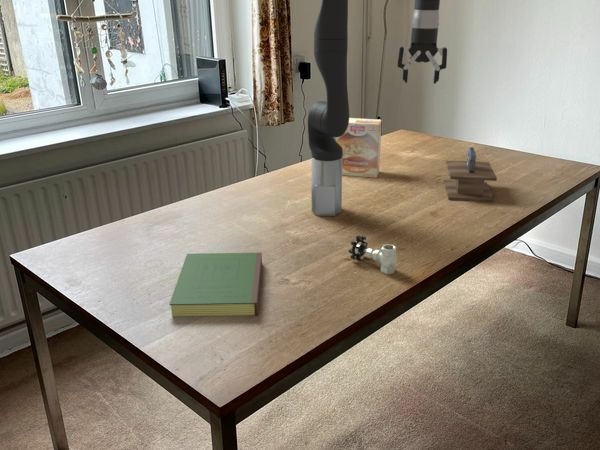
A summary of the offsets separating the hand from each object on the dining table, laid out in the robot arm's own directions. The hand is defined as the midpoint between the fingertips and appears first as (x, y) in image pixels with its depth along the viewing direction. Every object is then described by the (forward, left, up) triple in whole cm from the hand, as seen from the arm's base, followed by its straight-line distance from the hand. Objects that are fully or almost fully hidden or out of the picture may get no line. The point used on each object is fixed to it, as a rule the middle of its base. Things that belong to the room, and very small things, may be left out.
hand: (420, 82), depth 180 cm
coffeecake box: (+21, +19, -37) cm, 46 cm away
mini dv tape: (+6, -18, -29) cm, 35 cm away
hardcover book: (-65, +47, -37) cm, 89 cm away
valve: (-50, +11, -37) cm, 63 cm away
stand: (+6, -18, -37) cm, 41 cm away
